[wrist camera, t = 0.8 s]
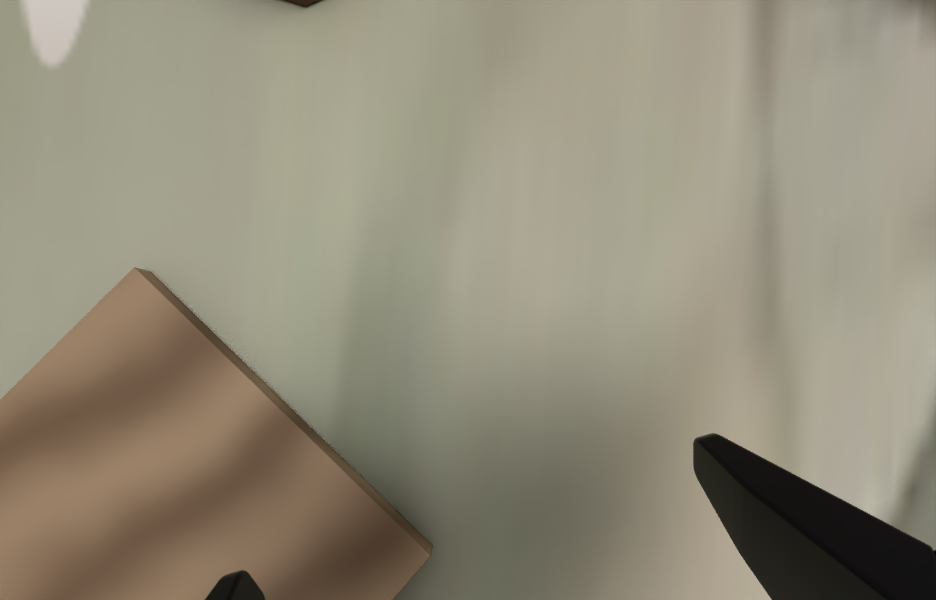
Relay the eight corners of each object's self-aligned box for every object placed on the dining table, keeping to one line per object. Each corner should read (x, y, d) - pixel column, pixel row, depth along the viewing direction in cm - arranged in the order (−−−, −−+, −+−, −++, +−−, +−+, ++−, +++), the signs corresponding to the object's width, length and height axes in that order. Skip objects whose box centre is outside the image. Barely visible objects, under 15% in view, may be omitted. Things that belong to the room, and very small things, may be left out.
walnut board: (432, 545, 23) (430, 556, 22) (127, 894, 21) (107, 926, 20) (150, 271, 25) (134, 267, 24) (-154, 573, 23) (-188, 585, 22)
